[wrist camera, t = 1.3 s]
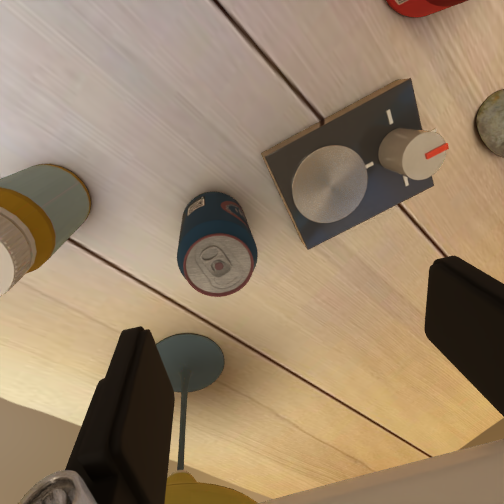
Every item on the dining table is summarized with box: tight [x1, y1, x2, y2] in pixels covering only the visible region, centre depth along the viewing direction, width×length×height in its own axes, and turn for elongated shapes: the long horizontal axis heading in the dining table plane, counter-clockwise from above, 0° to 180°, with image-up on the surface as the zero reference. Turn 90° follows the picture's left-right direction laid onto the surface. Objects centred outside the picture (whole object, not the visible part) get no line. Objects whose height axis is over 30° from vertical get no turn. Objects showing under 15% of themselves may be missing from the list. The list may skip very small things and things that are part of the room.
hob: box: [261, 78, 436, 250], centre depth 35 cm, size 17×12×3 cm
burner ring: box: [292, 145, 368, 223], centre depth 34 cm, size 8×8×1 cm
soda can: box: [177, 192, 257, 297], centre depth 31 cm, size 7×7×12 cm
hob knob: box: [378, 128, 449, 180], centre depth 32 cm, size 4×4×5 cm
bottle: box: [0, 164, 91, 297], centre depth 26 cm, size 7×7×15 cm
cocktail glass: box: [156, 334, 257, 504], centre depth 34 cm, size 18×18×25 cm
